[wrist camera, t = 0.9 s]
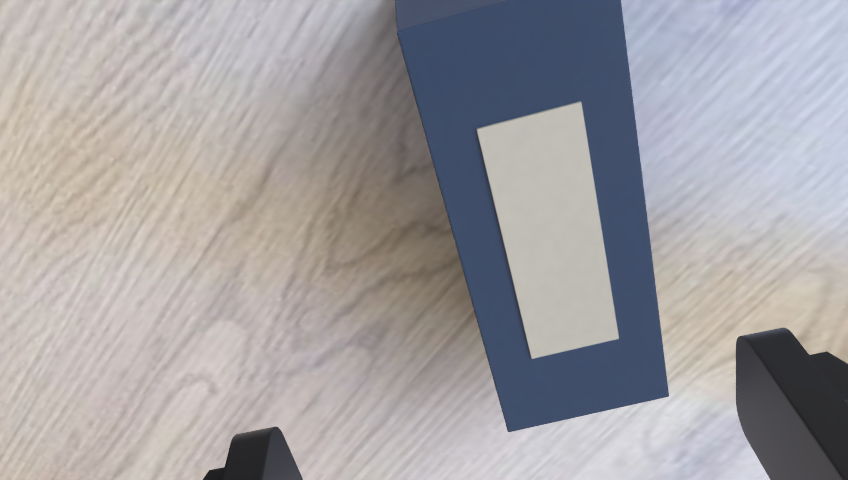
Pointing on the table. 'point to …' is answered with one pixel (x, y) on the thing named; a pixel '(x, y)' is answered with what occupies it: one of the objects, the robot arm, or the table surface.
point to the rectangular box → (542, 196)
